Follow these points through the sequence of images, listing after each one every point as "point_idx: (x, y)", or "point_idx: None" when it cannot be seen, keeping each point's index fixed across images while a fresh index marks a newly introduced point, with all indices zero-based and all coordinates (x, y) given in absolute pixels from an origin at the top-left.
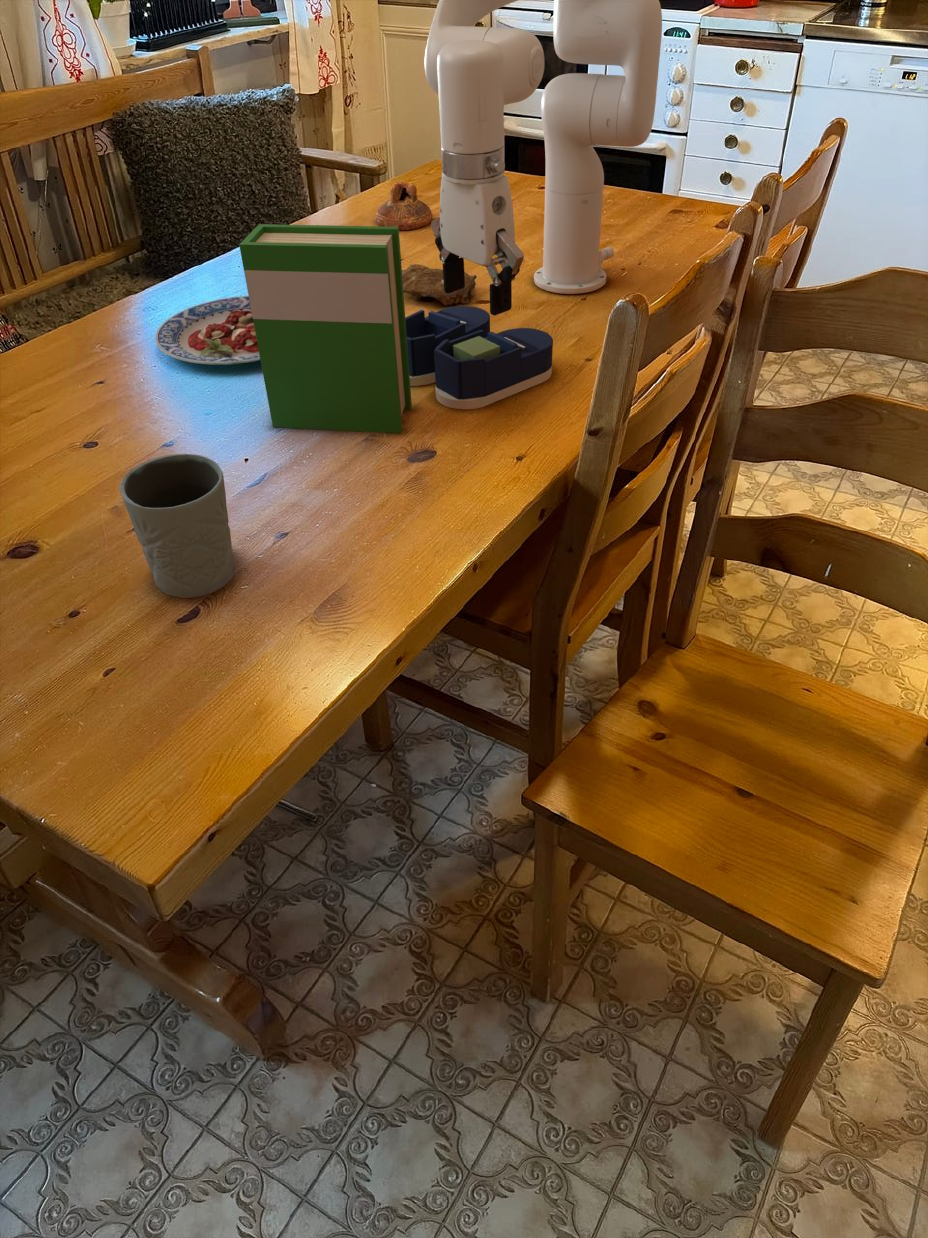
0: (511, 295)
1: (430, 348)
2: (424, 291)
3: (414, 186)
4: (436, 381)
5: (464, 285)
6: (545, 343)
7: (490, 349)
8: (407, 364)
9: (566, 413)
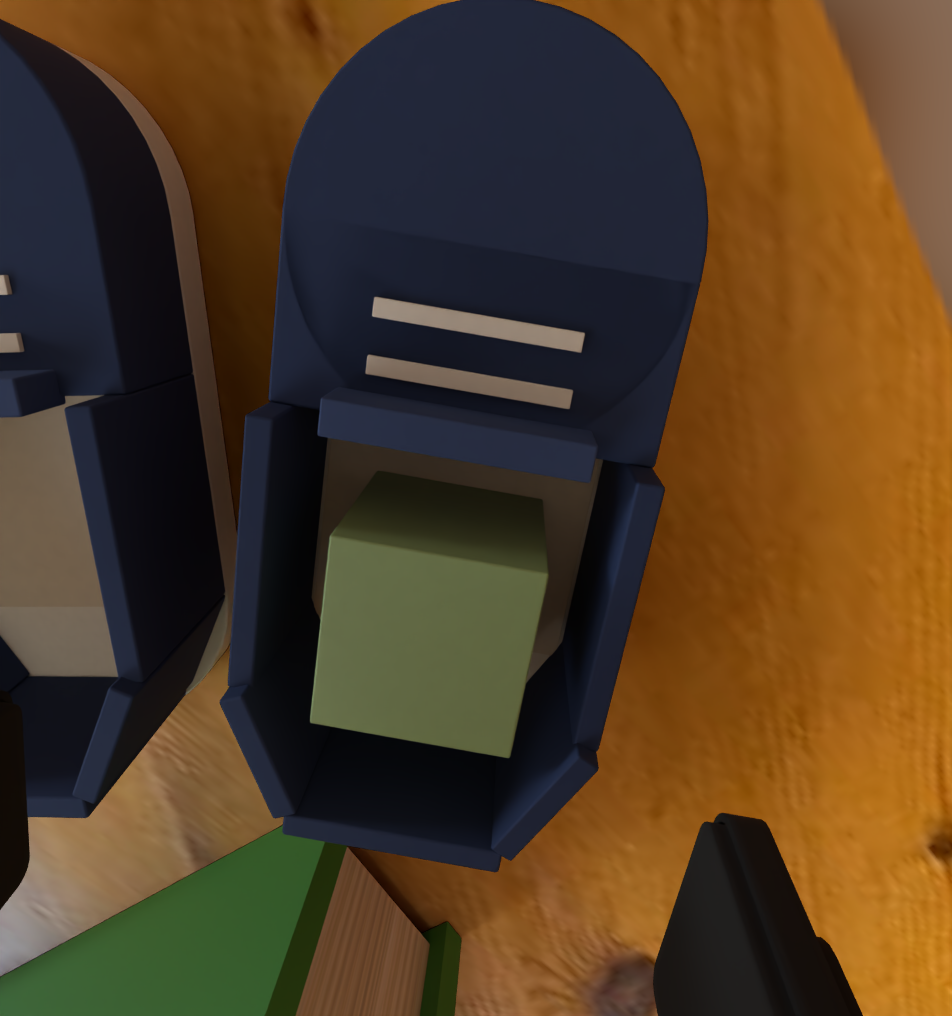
0: (809, 925)
1: (160, 685)
2: None
3: None
4: None
5: (6, 710)
6: (659, 182)
7: (532, 645)
8: (298, 982)
9: (940, 464)
